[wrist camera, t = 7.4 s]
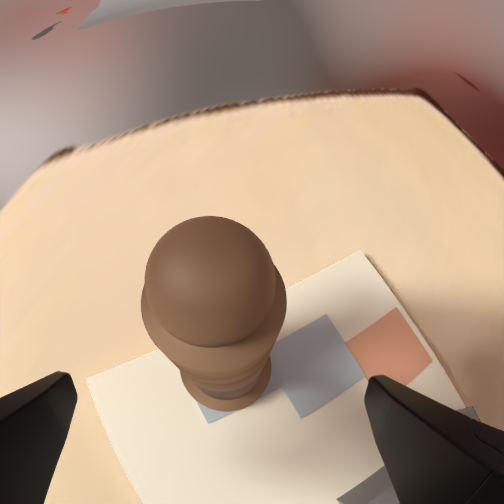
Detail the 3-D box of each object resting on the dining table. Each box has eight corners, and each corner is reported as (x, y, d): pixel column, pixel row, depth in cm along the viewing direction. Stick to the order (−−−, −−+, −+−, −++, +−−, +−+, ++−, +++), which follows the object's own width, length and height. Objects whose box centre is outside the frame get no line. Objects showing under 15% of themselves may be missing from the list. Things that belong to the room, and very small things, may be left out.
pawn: (285, 386, 16) (385, 295, 5) (207, 425, 15) (131, 429, 4) (243, 316, 19) (255, 137, 8) (169, 350, 17) (67, 207, 6)
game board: (491, 476, 13) (529, 474, 9) (260, 631, 7) (266, 662, 3) (354, 257, 23) (375, 222, 19) (93, 382, 17) (59, 367, 13)
